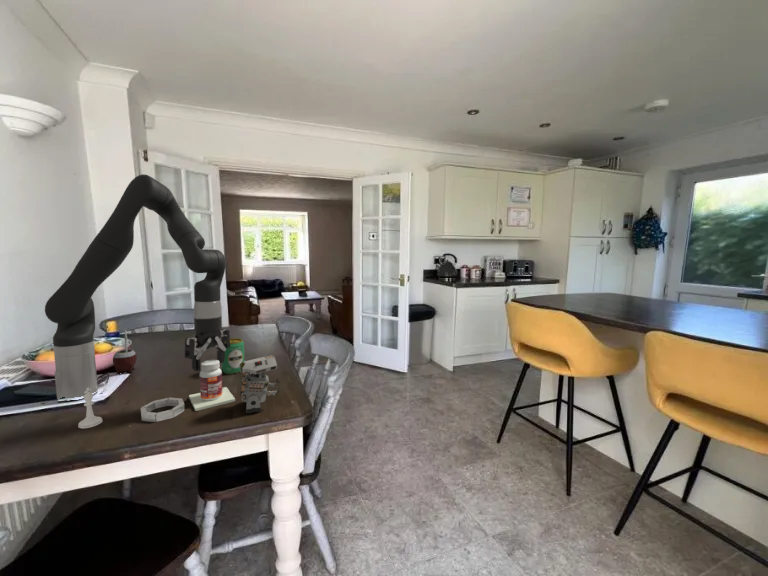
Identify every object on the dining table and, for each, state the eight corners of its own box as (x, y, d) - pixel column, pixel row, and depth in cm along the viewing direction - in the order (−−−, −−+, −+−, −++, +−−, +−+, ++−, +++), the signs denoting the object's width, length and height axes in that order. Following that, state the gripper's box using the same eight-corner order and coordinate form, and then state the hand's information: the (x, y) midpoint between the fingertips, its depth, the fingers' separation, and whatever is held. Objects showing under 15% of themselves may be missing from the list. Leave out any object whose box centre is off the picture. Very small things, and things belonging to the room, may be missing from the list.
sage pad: (195, 411, 98) (195, 408, 97) (189, 397, 106) (189, 395, 106) (235, 401, 104) (235, 398, 104) (226, 389, 113) (226, 386, 113)
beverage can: (225, 376, 124) (224, 344, 123) (219, 369, 130) (218, 340, 129) (247, 371, 129) (246, 341, 128) (241, 365, 135) (240, 336, 134)
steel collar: (142, 425, 89) (141, 418, 89) (140, 410, 97) (140, 403, 97) (186, 414, 96) (185, 407, 95) (181, 401, 104) (180, 395, 103)
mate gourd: (122, 376, 122) (119, 336, 120) (107, 373, 124) (104, 334, 123) (142, 369, 129) (140, 331, 127) (128, 367, 131) (126, 329, 130)
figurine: (281, 409, 100) (280, 361, 98) (239, 415, 96) (238, 365, 94) (279, 396, 108) (278, 351, 106) (241, 401, 104) (239, 355, 102)
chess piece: (107, 419, 92) (104, 384, 91) (92, 428, 87) (89, 392, 86) (88, 418, 92) (85, 384, 91) (73, 428, 87) (69, 391, 86)
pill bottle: (209, 403, 101) (208, 367, 100) (196, 398, 104) (194, 363, 102) (227, 395, 107) (225, 360, 105) (213, 391, 109) (212, 357, 108)
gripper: (218, 310, 110) (219, 358, 111) (177, 317, 97) (179, 371, 98) (235, 312, 107) (236, 361, 109) (195, 320, 94) (197, 376, 95)
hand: (209, 366), depth 103 cm, fingers open, 8 cm apart
